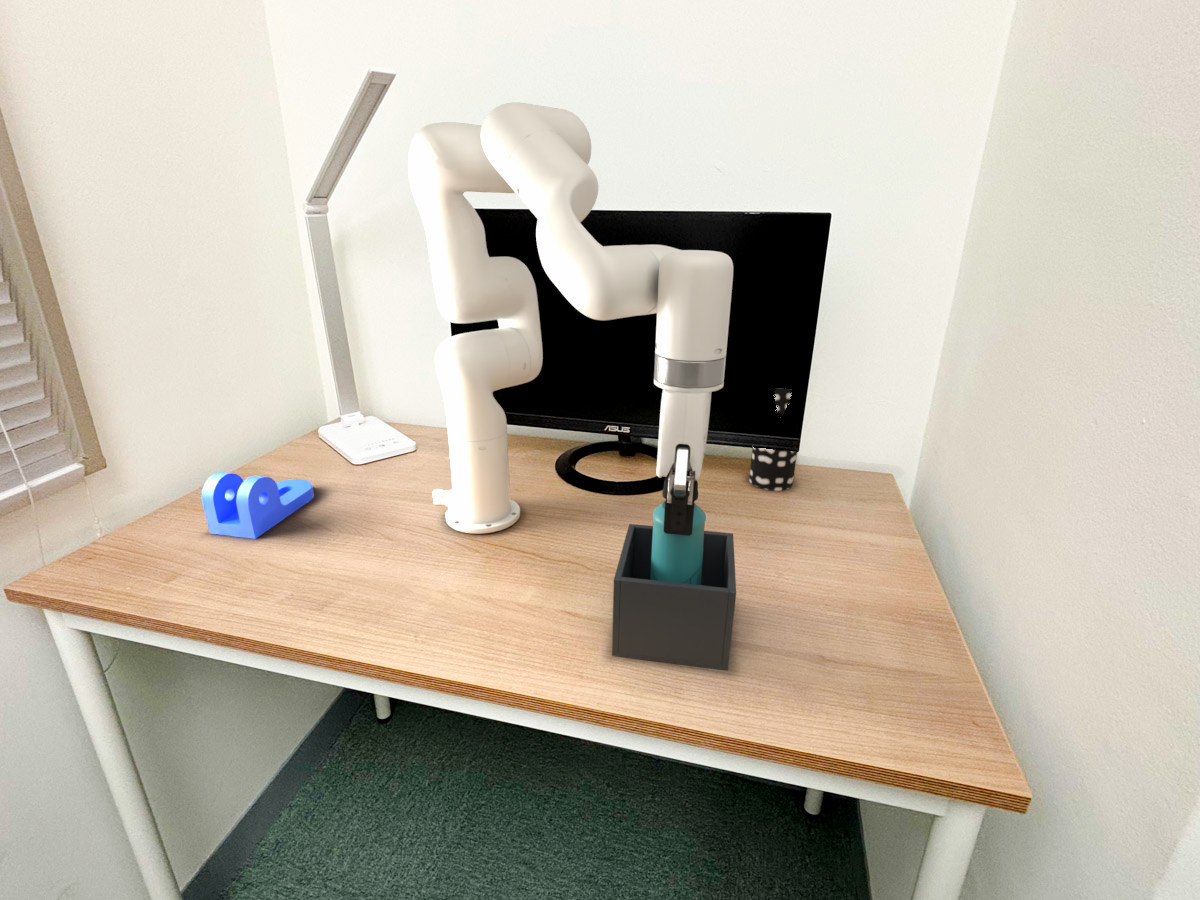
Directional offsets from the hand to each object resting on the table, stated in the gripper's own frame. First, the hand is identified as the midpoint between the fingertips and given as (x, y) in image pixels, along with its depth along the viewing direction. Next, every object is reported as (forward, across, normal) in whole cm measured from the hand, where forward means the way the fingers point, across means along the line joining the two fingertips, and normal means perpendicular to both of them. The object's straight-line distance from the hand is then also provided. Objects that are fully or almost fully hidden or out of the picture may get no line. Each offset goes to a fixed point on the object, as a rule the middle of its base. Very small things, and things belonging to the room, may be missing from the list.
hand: (679, 517), depth 73 cm
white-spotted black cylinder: (+16, -49, +16) cm, 54 cm away
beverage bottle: (+15, 0, 0) cm, 15 cm away
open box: (+16, 0, 0) cm, 16 cm away
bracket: (+16, -19, -71) cm, 75 cm away
